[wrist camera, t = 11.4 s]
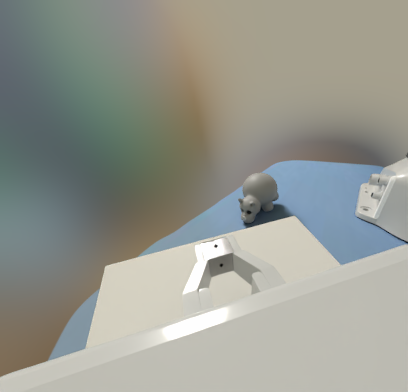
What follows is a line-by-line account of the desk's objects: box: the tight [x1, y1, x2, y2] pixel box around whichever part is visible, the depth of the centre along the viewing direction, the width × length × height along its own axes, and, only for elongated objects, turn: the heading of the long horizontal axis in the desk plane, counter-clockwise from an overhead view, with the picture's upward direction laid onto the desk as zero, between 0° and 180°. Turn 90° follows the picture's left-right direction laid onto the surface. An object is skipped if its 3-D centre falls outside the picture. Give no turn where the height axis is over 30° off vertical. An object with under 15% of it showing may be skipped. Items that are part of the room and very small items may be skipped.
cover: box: [86, 216, 341, 349], centre depth 11 cm, size 20×13×1 cm, turn 103°
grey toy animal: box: [238, 173, 279, 223], centre depth 33 cm, size 7×12×8 cm, turn 136°
